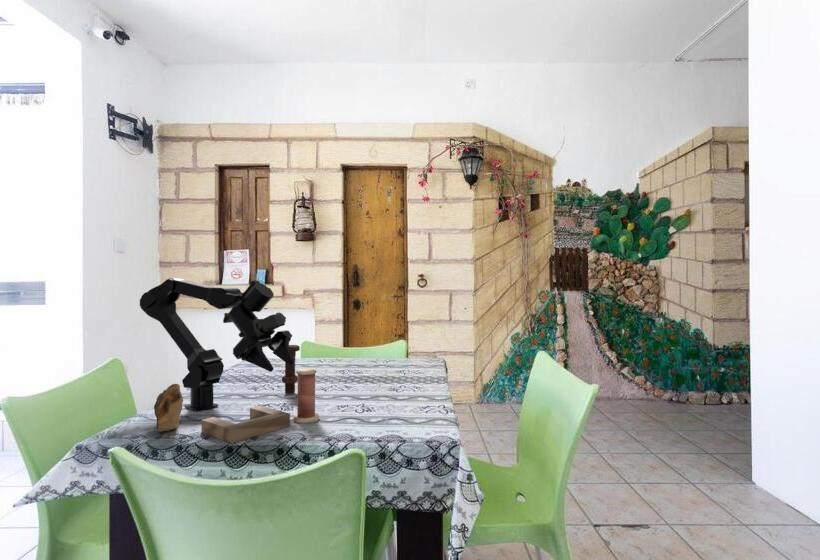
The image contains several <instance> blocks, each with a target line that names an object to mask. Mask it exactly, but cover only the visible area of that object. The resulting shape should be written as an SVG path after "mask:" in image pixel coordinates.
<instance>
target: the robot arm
mask: <svg viewBox="0 0 820 560" xmlns="http://www.w3.org/2000/svg"><path fill="white" fill-rule="evenodd" d="M181 295H183V296H187V297H189V298H195V299H199V300H202V301H205V303H207V304H208V305H209V306H211V307H214V308H216V309H218V310H227V309H228V310H229V309H230V311H229V312H224V314H223V315H224V317H223V320H222V321H223V322H222V323H223V324H228V323H233V325H235V327H236V328H237V330H238V331H239V333H238V337H239V338H241V339H240V340H239V341H238V342H237V344H236V345H235V346H234V347H233V348H232V355H233V356H234V357H235V358H236V360H241V361H244V362H247V363H249V364H253V365H255V366H257V367H260V368H261V369H263V370H265V371H268V372H273V371H274V367H273V365H272V363H271V362H270V360H269V359H268V357H267V356H266V354H265V352H264V349H263V348H265V347H268V348H269V350H271V351H272V354H274V355H275V356H276V357H278V358H279V359H280V360H281V361H283V362H284V363H285V362H286V363H288V364H289V365H291V366H292V365H293V364H294V360H293V358H292V355H291V352H290V349H289V345H290V342H291V340H292V338H293V334H292V333H291V332H290V330H287V329H286V330H278V331H277V332H276V331H275V330H276V329H278V328H280V327H284V326H285V325H286V321H287V320H286V319H287V317H286V316H285V315H284V314H283V313H281V312H276V313H275V314H271V315H268V316H267V317H266V316H265V318H259V317H258V316H256V314H255V312H256V313H259V312H261V311H263V309H264V308H265V307H266V306H267V304H268V303H269V302H270V301H271V300H272V299H273V297H274V296H275V295H274V291H273V290H272V288H270V287H268V286H267V285H265V284H263V283H261V282H260V281H259V280H252V281H250V284H249V286H248V287H247V288H246V289H245V290H244V292H242V291H241V289H239V288H237V287H219V286H218V287H216V286H215V287H214V286H211V285H207V284H202V283H197V282H194V281H190V280H186V279H183V278H178V277H177V278H172V277H171V278H168V279H166V280H165V281H163V282H161V284H159V285H157V286H154V287H153V288H151V289H149V290H147V291H146V292H143V294H142V295H141V297H140V299H139V307H140V309H141V310H142V311H143V312H144V313H145V314H146V315H147V316H148V317H150V318H152V319H153V320H155V321H158V322H159V323H160V325H161V326H162V327H163V328H164V329H165V331H166V332H167V334H168V336H170V338H171V339H172V340H173V342H174V343H175V344H176V346H177V347H178V349H180V351H181V352H182V354H183V355H184V356H185V358H186V362H187V364H186V367H187V370H188V373H187V374H186V375H185V376H184V378H183V379H181V382H182V384H183V385H182V387H183V389H184V388H185V389H189V390H190V397H189V403H190V404H186V405H184V408H185V409H189V410H192V411H195V412H199V411H204V410H208V409H212V408H216V407H219V404H217V403H214V384H218V383H220V381H221V378H222V375H223V372H224V367H225V366H224V365H225V364H224V362H223V358H222V357H220V356H219V354H218V353H217V351H216V350H215V349H214V348H211V349H205V348H204V347H203V346H202V345H201V343H200V342H199V341H198V340H197V338H196V337H195V336H194V334H193V333H192V331H191V330H190V329H189V327H187V325H186V323H185V322H184V321H183V319H182V318H181V317H180V315H179V314H178V313H177V303H176V302H177V301H178V300H179V299H180V297H181ZM275 332H276V333H275ZM272 335H273V336H272Z"/></svg>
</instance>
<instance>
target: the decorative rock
mask: <svg viewBox="0 0 820 560" xmlns="http://www.w3.org/2000/svg"><path fill="white" fill-rule="evenodd" d="M183 403H184V398H183V394H182V391H181V386H180V384H179V383H172V384H171V385H169V386H168V387H167V388H166V389H164V390H163V391H162V392H161V393H159V394H158V396H157V397H156V401H155V403H154V406H153V410H154V411H153V413H154V415H155V418H156V428H157V430H158V433H159V432H160V433H161V432H166V431H172V430H175V429H176V428H179V423H180V416H181V413H182V411H183Z"/></svg>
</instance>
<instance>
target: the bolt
mask: <svg viewBox="0 0 820 560" xmlns="http://www.w3.org/2000/svg"><path fill="white" fill-rule="evenodd" d="M300 348H301V347H300V345H297V344H289V349H290V352H291V355H292V358H293V360H294V364H293V365H292V366H291V365H289V364H288V363H286V362H285V361H284V375H283V376H282V377H281V382H282V383H283V384H284V394H286V395H291V394H295V392H296V383H298V374H297V375H296V356H297V355H296V352H299V351H300Z"/></svg>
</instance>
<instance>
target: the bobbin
mask: <svg viewBox="0 0 820 560" xmlns="http://www.w3.org/2000/svg"><path fill="white" fill-rule="evenodd" d="M316 373H317V369H313V368H301V369H297V370H296V371H295V374H297V376H298V381H297V404H296V405H297V406H296V407H297V413H296V414H293V416H292V418H293V420H292V421H293V422H294V423H297V424H311V423H316V422H317V421H319V419H320V415H319V413H318V412H316Z"/></svg>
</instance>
